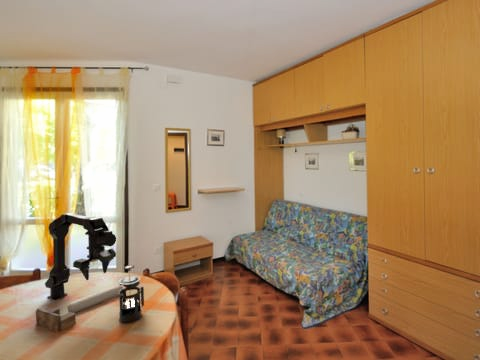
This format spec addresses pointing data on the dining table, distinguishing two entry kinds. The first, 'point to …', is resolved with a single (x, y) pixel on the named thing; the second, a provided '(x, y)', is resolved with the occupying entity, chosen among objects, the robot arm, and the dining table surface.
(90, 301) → the tube
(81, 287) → the dining table surface
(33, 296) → the dining table surface
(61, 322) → the socket
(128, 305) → the french press
